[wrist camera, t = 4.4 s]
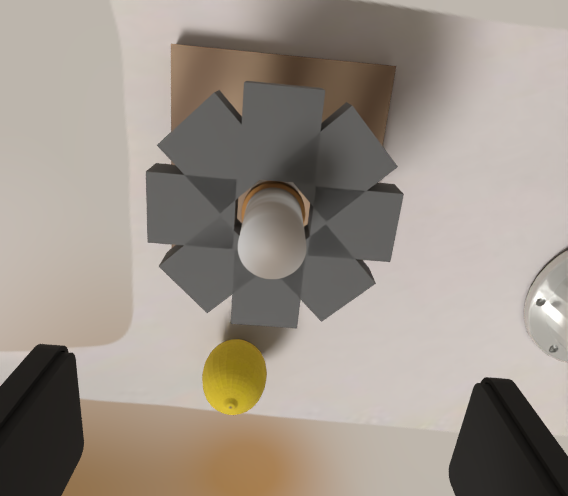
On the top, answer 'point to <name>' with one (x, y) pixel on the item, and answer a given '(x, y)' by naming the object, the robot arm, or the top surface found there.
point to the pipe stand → (230, 81)
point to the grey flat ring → (275, 167)
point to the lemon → (234, 377)
